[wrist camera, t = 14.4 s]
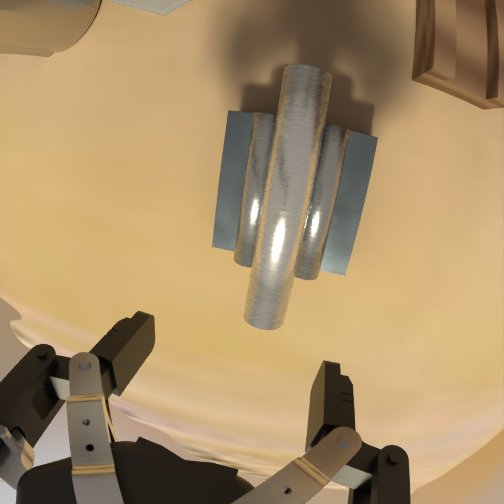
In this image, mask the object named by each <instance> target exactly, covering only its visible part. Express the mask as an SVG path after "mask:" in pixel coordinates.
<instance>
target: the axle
mask: <svg viewBox="0 0 504 504" xmlns="http://www.w3.org/2000/svg"><path fill="white" fill-rule="evenodd" d="M331 81H332V74H331V73H329V72H328V71H326V70H323V69H321V68H318V67H314V66H309V65H301V64H292V65H287V66H285V68H284V74H283V80H282V86H281V92H280V98H279V104H278V110H277V116H276V122H275V128H274V134H273V141H272V147H271V153H270V159H269V165H268V171H267V177H266V183H265V189H264V195H263V201H262V207H261V213H260V219H259V225H258V231H257V237H256V243H255V249H254V255H253V261H252V267H251V273H250V279H249V285H248V291H247V297H246V303H245V309H244V315H243V317H244V319H245V321H246V322H247V323H248V324H250V325H251V326H253V327H256V328H259V329H264V330H273V329H277V328H280V327H281V326H282V325H283V324H284V320H285V316H286V312H287V308H288V303H289V299H290V295H291V291H292V287H293V282H294V278H295V273H296V269H297V265H298V260H299V256H300V251H301V246H302V242H303V237H304V232H305V228H306V223H307V218H308V213H309V208H310V203H311V198H312V193H313V188H314V183H315V177H316V172H317V166H318V161H319V155H320V150H321V144H322V138H323V132H324V126H325V120H326V114H327V108H328V101H329V95H330V88H331Z"/></svg>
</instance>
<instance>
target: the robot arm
mask: <svg viewBox="0 0 504 504" xmlns="http://www.w3.org/2000/svg"><path fill="white" fill-rule="evenodd" d="M99 4H100V0H0V53H5V54H21V55H33V56H43V57H49V56H50V55H51V54H52V53H54V52H59V51H63V50H65V49H67V48H69V47H70V46H72V45H73V44H74V43H75V42H77V41H78V40H79V39H80V38H81V37H82V35H83V34H84V33H85V32H86V30H87V29H88V28H89V26H90V25H91V23H92V21H93V19H94V18H95V15H96V13H97V11H98V8H99ZM154 344H155V323H154V316H153V315H150V314H147V313H144V312H141V311H138V312H136V313H135V315H134V316H133V317H132V318H131V319H130V318H127V317H126V318H124V319H122V320H120V321H118V322H117V323H116V324H115V325H114V326H113V327H112V329H110V330H109V331H108V332H107V335H105V336H104V337H103V338H102V339H101V340H100V341H99V342H98V343H97V344H96V345H95V346H94V347H93V348H92V350H91V351H90V352H89V353H88V352H82V353H78V354H76V355H74V356H73V357H72V358H69V357H64V356H59V355H56V352H55V350H54V348H53V347H52V346H50V345H48V344H39V345H36V346H35V347H33V348H32V349H31V350H30V351H29V352H28V353H27V354H26V355H25V356H24V357H23V359H21V360H20V361H19V363H18V364H17V365H16V366H15V367H14V368H13V369H12V370H11V371H10V372H9V373H8V374H7V375H6V377H5V378H4V379H3V380H2V381H1V382H0V481H2V482H6V483H7V484H8V485H10V486H11V487H12V488H13V489H15V490H16V491H17V495H16V504H305V503H306V502H308V501H309V500H310V499H311V498H312V497H313V496H315V495H316V494H317V493H318V492H319V491H320V490H321V489H322V488H323V487H324V486H325V485H327V484H328V483H329V482H330V481H333V482H336V483H338V484H341V485H343V486H346V487H349V498H348V504H410V475H409V459H408V455H407V453H406V452H405V451H404V450H403V449H402V448H401V447H399V446H396V445H388V446H385V447H384V448H382V449H378V448H376V447H373V446H370V445H368V444H366V443H364V442H363V441H362V440H361V437H360V435H359V434H358V433H357V432H356V429H355V411H354V396H353V384H352V382H351V381H350V379H349V377H348V376H344V375H341V374H340V364H339V363H335V362H330V361H323V362H322V364H321V367H320V369H319V371H318V374H317V376H316V378H315V380H314V383H313V386H312V389H311V394H310V406H309V418H308V428H307V438H306V447H305V452H307V453H306V454H305V455H303V456H302V457H301V458H299V457H298V458H296V459H295V460H293V461H292V462H290V463H289V464H288V465H287V466H285V467H284V468H283V469H281V470H280V471H279V472H277V473H276V474H274V475H273V476H272V477H270V478H269V479H267V480H266V481H265V482H263V483H262V484H260V485H259V486H257V487H256V488H255V487H254V486H252V485H251V484H250V483H249V482H247V481H246V480H245V479H243V478H241V477H239V476H237V473H238V469H235V468H231V467H227V466H223V465H219V464H216V463H210V462H198V461H189V460H184V459H182V458H181V457H179V456H177V455H176V454H174V453H173V452H171V451H169V450H168V449H166V448H165V447H163V446H161V445H159V444H156V443H154V442H151V441H149V440H146V439H144V438H142V437H139V438H138V440H137V441H136V442H132V441H120V442H118V441H117V438H116V434H115V430H114V425H113V421H112V415H111V410H110V403H109V399H108V398H109V396H110V395H111V394H112V393H113V394H115V395H117V396H119V397H120V395H121V394H122V392H123V391H124V390H125V388H126V387H127V385H128V384H129V383H130V381H131V380H132V378H133V377H134V375H135V374H136V373H137V371H138V370H139V368H140V367H141V366H142V364H143V363H144V361H145V360H146V359H147V357H148V356H149V354H150V353H151V351H152V350H153V347H154ZM66 400H67V419H68V432H69V442H70V451H71V457H68V458H65V459H62V460H59V461H55V462H51V463H48V464H44V465H40V466H37V467H33V464H34V462H33V461H34V457H35V455H34V450H33V447H34V446H35V444H36V443H37V441H38V440H39V438H40V437H41V436H42V434H43V432H44V431H45V430H46V428H47V427H48V425H49V424H50V423H51V421H52V420H53V418H54V417H55V415H56V414H57V413H58V411H59V410H60V408H61V407H62V406H63V404H64V403H65V401H66ZM32 467H33V468H32Z"/></svg>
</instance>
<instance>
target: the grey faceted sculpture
mask: <svg viewBox="0 0 504 504" xmlns="http://www.w3.org/2000/svg"><path fill="white" fill-rule="evenodd" d="M109 1H110V2H113V3H117V4H120V5H124V6H127V7H130V8H134V9H137V10H142V11H146V12H150V13H154V14H158V15H162V16H167V15H168V14H170V13H172V12H173V11H175V10H177V9H179V8H180V7H182V6H184V5H186V4H187V3H189V2H191V1H193V0H109Z"/></svg>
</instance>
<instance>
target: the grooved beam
mask: <svg viewBox="0 0 504 504" xmlns="http://www.w3.org/2000/svg"><path fill="white" fill-rule="evenodd" d="M412 80H413V81H416V82H419V83H422V84H424V85H427V86H430V87H433V88H435V89H438V90H440V91H443V92H445V93H448V94H450V95H453V96H455V97H457V98H460V99H462V100H464V101H467V102H469V103H471V104H473V105H475V106H477V107H479V108H481V109H492V108H504V0H417V11H416V38H415V54H414V66H413V76H412Z"/></svg>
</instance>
